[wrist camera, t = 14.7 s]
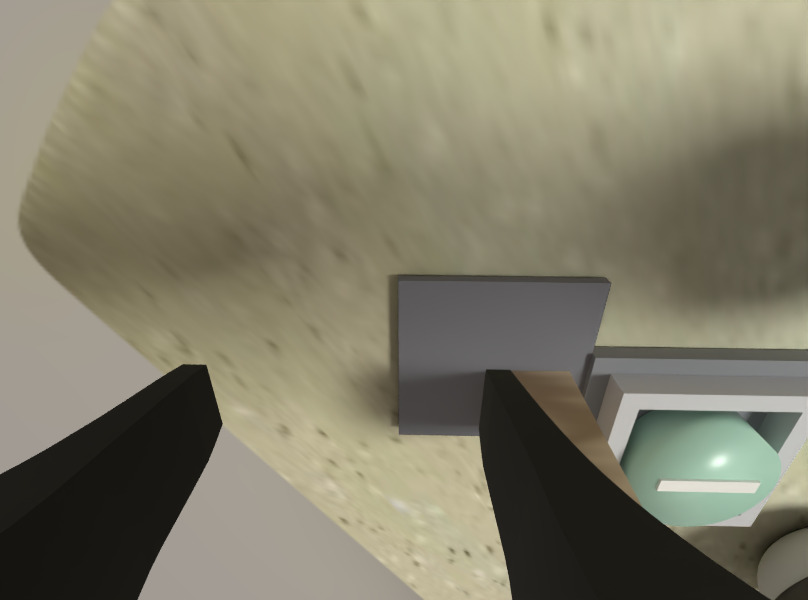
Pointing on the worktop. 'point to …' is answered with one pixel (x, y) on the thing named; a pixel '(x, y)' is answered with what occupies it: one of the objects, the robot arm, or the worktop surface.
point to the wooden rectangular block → (574, 420)
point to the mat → (487, 340)
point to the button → (698, 466)
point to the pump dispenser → (785, 568)
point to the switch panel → (703, 394)
